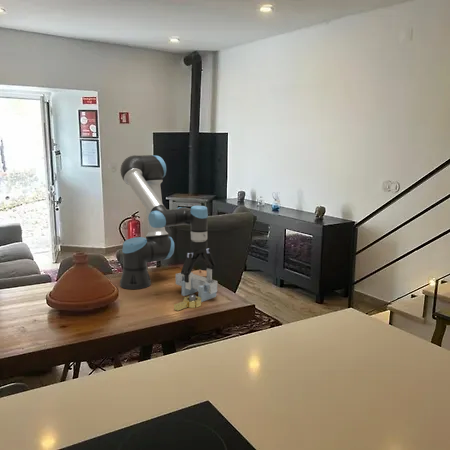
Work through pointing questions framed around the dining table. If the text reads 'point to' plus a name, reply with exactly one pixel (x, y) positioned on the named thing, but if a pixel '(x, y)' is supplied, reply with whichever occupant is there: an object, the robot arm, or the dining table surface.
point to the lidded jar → (200, 273)
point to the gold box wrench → (188, 303)
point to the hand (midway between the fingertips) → (198, 285)
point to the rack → (200, 291)
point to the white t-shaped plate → (198, 282)
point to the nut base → (192, 297)
